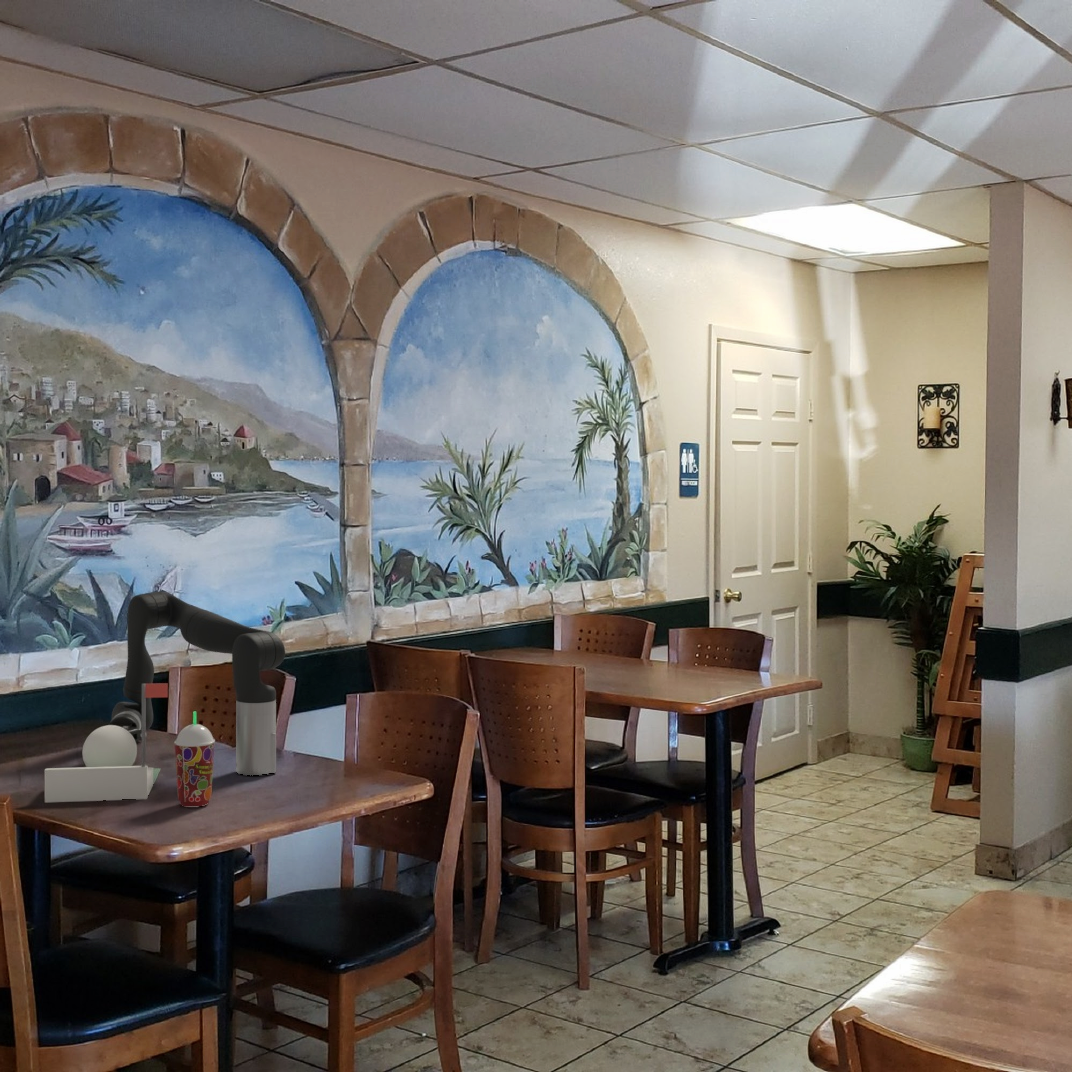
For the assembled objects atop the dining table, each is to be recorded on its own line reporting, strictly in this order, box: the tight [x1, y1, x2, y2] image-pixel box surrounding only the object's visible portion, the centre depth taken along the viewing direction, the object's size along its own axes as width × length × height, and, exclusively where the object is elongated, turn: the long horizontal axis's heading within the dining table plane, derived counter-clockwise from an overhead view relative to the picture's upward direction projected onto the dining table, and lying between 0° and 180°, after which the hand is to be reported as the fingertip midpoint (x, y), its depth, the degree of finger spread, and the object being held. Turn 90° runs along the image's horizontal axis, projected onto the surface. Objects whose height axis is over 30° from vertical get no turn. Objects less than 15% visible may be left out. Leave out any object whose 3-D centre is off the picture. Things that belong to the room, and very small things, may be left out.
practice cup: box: [44, 682, 169, 803], centre depth 292 cm, size 25×30×25 cm
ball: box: [82, 724, 138, 767], centre depth 298 cm, size 12×12×12 cm
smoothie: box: [173, 710, 216, 807], centre depth 274 cm, size 8×8×20 cm
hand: (115, 741), depth 308 cm, fingers closed
